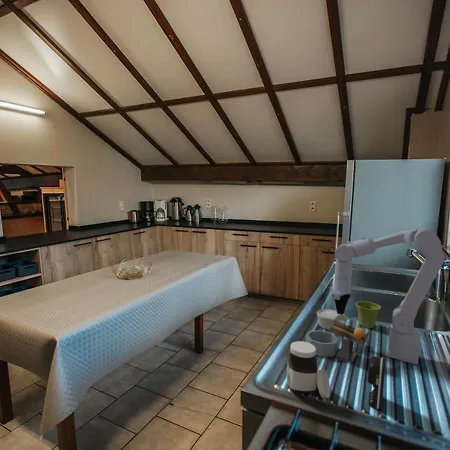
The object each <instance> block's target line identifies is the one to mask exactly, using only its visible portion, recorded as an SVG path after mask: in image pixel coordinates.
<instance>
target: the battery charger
mask: <svg viewBox="0 0 450 450" xmlns="http://www.w3.org/2000/svg"><path fill="white" fill-rule="evenodd" d="M368 363H369V365H368V371H367V377H366V379H367V380H366V381H367V383H368V384H370V385H372V387H373V389H372V390H371V391H370V392H369V394H368V405H369V406H370V407H372V408H374V409H377V410H382V409H383V408H382V407H383V396H384V385H385V373H386V358H384V357H379V356H375V355H372V356H371V357H370V358H369V362H368Z"/></svg>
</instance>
